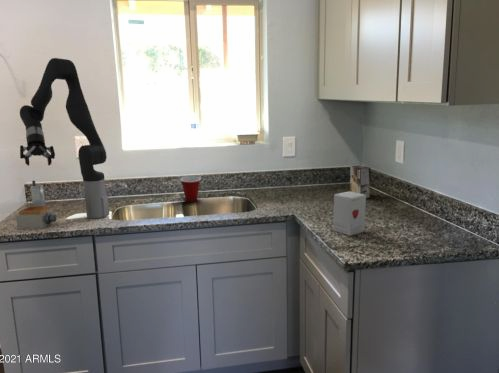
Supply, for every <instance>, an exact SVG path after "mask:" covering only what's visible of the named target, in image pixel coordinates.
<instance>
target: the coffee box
mask: <svg viewBox="0 0 499 373" xmlns="http://www.w3.org/2000/svg"><path fill="white" fill-rule="evenodd" d="M349 182H350V183H349V191H350V192H355V193H359V194H364V195H366V199H368V198H370V192H371V191H370V190H371V188H370V187H371V167H369V166H366V165H365V166H364V165H352V166H350V181H349Z"/></svg>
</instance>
